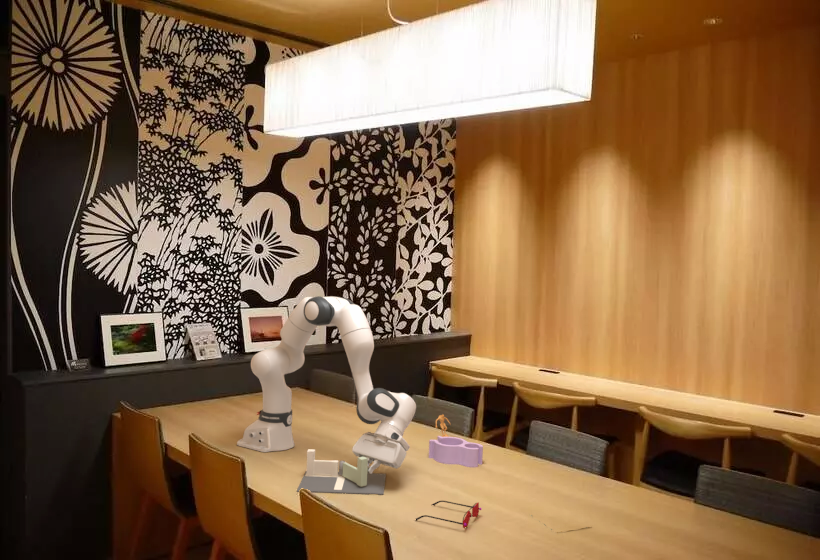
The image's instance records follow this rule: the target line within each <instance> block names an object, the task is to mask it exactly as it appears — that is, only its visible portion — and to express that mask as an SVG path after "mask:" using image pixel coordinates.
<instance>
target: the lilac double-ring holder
mask: <svg viewBox="0 0 820 560" xmlns="http://www.w3.org/2000/svg"><path fill="white" fill-rule="evenodd" d="M441 436H442V435H437V439H429V441H428V459H433V460H434V461H436V462H438V463H441V464H445V465H460V466H463V467H467V468H478V467H479V465H483V456H484V455H483V453H484V445H482V444H481V443H477V442H471V441H467V440H465V439H464V438H461V437H455V436H449V437H441Z"/></svg>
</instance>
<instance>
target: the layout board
mask: <svg viewBox="0 0 820 560" xmlns="http://www.w3.org/2000/svg"><path fill="white" fill-rule="evenodd" d="M386 475H387V473H375V472H372V474H370V473H367V485H366V486H362V487H360V486H359V485H357V483H355V482H353V481H351V480H349V479H348V478H346V477H344V476H342V475H339V471H338V477H332V475H328V474H314V476H307V470H306V471H305V472H304V474H303V476H302V479H301V480H300V483H299V485H298V487H297V489H296V493H300V492H299V490H300V489H301V488H304V489H308V490H310V491H311V492H310V493H317V494H342V493H343V494H345V493H346V494H347V495H369V494H378V495H377V496H383V495H384V493H385V483H386ZM343 494H342V495H343ZM346 494H345V495H346Z"/></svg>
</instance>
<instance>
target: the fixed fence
mask: <svg viewBox="0 0 820 560" xmlns="http://www.w3.org/2000/svg"><path fill="white" fill-rule="evenodd" d="M339 461H340V460H337V459H336V460H335V459H334V460H333V459H332V460H327V459H326V460H325V459H324V460H323V459H321V460H320V459H316V449H311V448H310V449H309V448H308V449H307V451H306V471H307V476H314V474H328V475H332V477H338V472H339Z"/></svg>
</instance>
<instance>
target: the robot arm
mask: <svg viewBox="0 0 820 560" xmlns="http://www.w3.org/2000/svg"><path fill="white" fill-rule="evenodd" d="M318 326H319V327H320V326H321V327H322V326H323V327H336V328H337V329H338V331H339V335H340V338H341V341H342V345H343V348H344V351H345V353H346V357H347V361H348V364H349V367H350V371H351V377H352V380H353V384H354V389H355V393H356V397H357V398H356V414H357V417H358V418H359V420H361V422H362V423H364V424H367V425H375V424H378V423H379V422H380V423H379V424H378V426H377V429H376V430H375V432H371V431H367V432H365V433H363V434H362V435H361V436H360V437H359V438H358V439H357V441H356V442H355V443H354V445H353V446H352V450H351V451H352V453H353V454H354V455H355V457H357V458H359V457H366V458H368V465H367V473H370V474H372V473H374V471H375V470H376V469H379V467H380V465H383V466H387V467H391V468H394V469H398V468H400V467H401V466H402V464H403V463H404V460H405V459H406V456H407V451H409V449H410V448H411V447H410V444H409V443H408V442H407V440H406V439H405V438H404V437H403V436H404V434H405V433H404V432H405V430H406V429H407V428H408V427H409V425H410V424H411V422H412V420H413V418H414V416H415V413H416V410H417V404H416V402H415V400H414V398H413V397H412V396H411V395H409V394H407V393H405V392H391V391H390V390H387V389H386V388H385V389H384V388H383V387H376V388H374V385H373V382H372V377H371V374H370V362H371V358H372V356H373V352H374V349H375V342H374V341H375V340H374V335H373V332H372V329H371V326H370V323H369V321H368V318H367V316H366V314H365V313H364V311H363V309H362V307H360V305H358V304H355V303H354V302H353V300H351V299H349V298H347V297H340V296H333V295H330V296H320V295H319V296H306V297H304V298H302V299H301V300H300V302H299V303H298V304H297V305H296V306H295V307H294V308H293V309H292V311H291V313H290V314H289V316H288V318H287V319H286V321H285V322H284V324H283V326H282V327H281V329H280V332H279V337H281V341H280V343H279V344H278V345H277V346H275V347H271V348H267V349H266V348H265V349H262V350H260V351H258V352H257V353H255V354H254V355H253V356H252V357H251V360H250V369H251V371H252V372H251V373H252V374H254V375H255V376H256V378H257V379H259V380H258V381H259V382H260V385H261V390H262V409H260V410H259V411H258V412H256V416H258V415H259V416H258V419H256V420H255V421H253V422H252V423H251V424H249V425H248V426H246V427H245V429H244V431H243V437H242V438H240V439H238V440H237V441H236V446H239V447H243V448H246V449H250V450H253V451H254V450H255V451H257V452H261V453H267V452H279V451H285V450H290V449H292V448H293V447H295V446H296V445H295V442H294V437H293V429H292V427H293V426H292V424H293V409H292V399H293V398H292V397H293V394H292V393H293V391H292V389H291V388H290V387H289V386H288V385H287V384H286V380H285V375H287V374H291V373H294V372H296V371H297V370H299V369H301V368H302V367H303V366H304V364H305V353H304V351H305V347H306V345H307V343H308V342H309V340H310V338H311V337H312V336H313V334H314V332H315V330H316V328H317V327H318Z"/></svg>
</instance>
